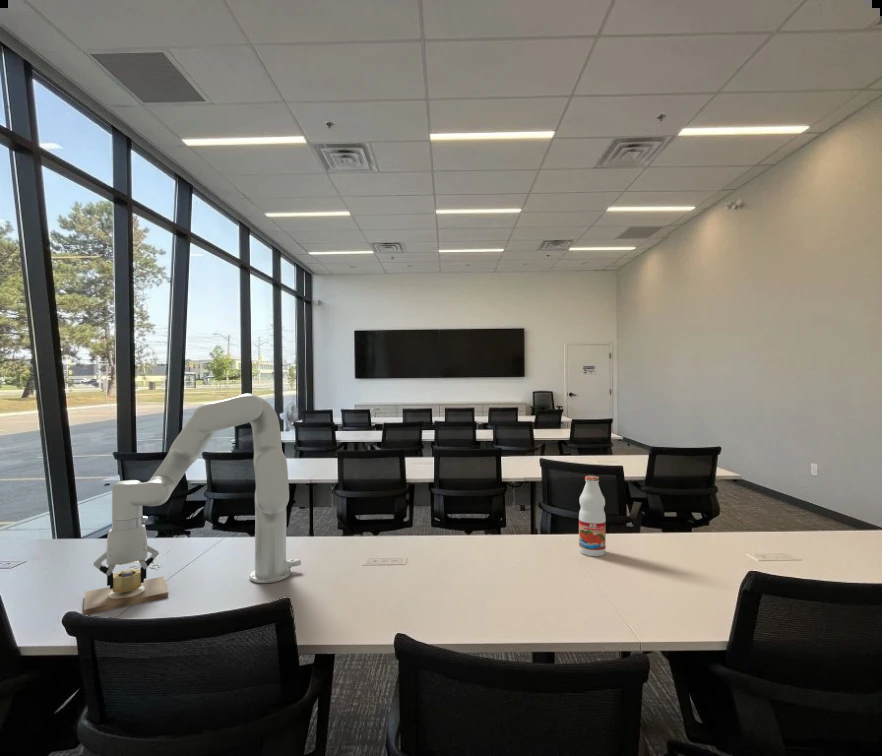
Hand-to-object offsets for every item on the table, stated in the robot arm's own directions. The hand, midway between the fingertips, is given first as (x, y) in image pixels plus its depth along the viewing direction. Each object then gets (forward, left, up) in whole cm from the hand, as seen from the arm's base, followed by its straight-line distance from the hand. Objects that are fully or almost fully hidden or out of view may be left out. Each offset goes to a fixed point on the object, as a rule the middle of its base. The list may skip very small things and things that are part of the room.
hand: (126, 584), depth 143 cm
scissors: (-9, -30, -4) cm, 32 cm away
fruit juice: (-143, +53, -4) cm, 153 cm away
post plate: (0, 0, -4) cm, 4 cm away
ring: (0, 0, -1) cm, 1 cm away
